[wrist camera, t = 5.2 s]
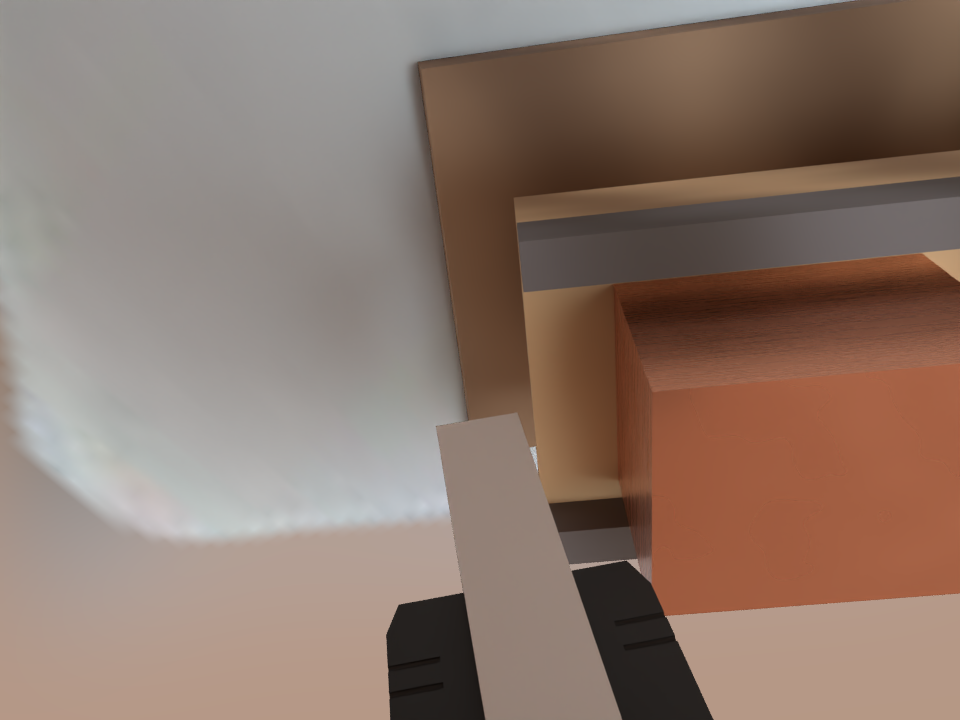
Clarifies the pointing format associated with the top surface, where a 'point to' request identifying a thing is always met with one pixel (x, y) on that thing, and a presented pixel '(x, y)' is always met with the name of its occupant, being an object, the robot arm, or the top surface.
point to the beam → (683, 253)
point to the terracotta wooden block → (791, 433)
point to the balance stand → (663, 134)
